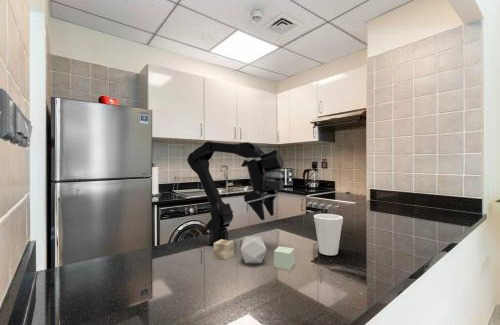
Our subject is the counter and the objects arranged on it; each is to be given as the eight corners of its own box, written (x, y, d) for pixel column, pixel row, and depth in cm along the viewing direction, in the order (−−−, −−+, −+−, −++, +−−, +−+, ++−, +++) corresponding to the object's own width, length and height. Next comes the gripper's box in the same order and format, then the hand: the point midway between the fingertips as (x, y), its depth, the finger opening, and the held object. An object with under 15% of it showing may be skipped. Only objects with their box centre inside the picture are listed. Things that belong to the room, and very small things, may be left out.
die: (257, 271, 73) (273, 242, 76) (233, 255, 74) (249, 227, 77) (256, 270, 80) (271, 244, 83) (234, 256, 82) (249, 230, 85)
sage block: (273, 267, 74) (273, 251, 74) (279, 261, 79) (278, 246, 79) (290, 270, 72) (289, 253, 72) (294, 264, 77) (294, 248, 77)
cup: (344, 251, 89) (344, 215, 89) (342, 260, 80) (341, 220, 80) (316, 247, 93) (316, 212, 93) (311, 255, 84) (311, 217, 84)
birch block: (213, 258, 82) (213, 243, 82) (221, 253, 86) (221, 239, 87) (226, 260, 80) (226, 245, 80) (233, 255, 84) (233, 241, 85)
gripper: (268, 169, 78) (280, 217, 76) (284, 169, 95) (295, 209, 93) (238, 178, 83) (249, 224, 80) (259, 177, 100) (269, 215, 97)
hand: (267, 217), depth 88 cm, fingers open, 9 cm apart
